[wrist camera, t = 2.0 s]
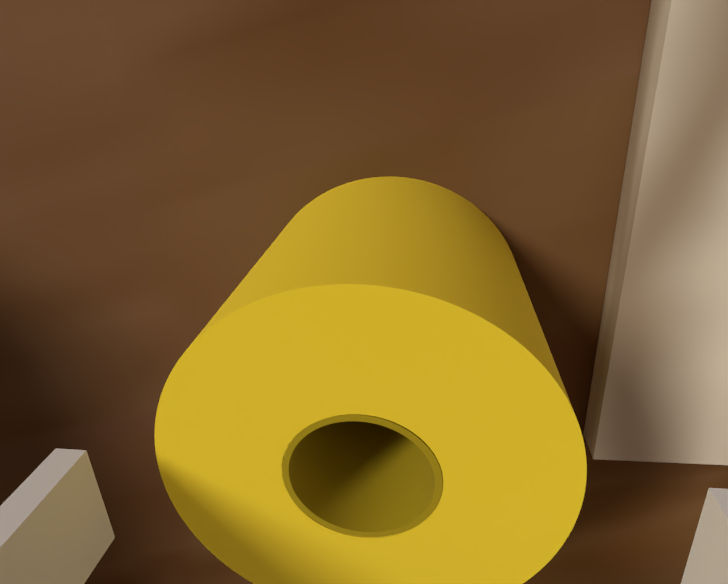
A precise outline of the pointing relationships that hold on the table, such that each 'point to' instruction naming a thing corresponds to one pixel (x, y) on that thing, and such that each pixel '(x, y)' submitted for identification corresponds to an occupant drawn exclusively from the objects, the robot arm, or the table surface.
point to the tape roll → (375, 404)
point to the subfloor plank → (670, 255)
